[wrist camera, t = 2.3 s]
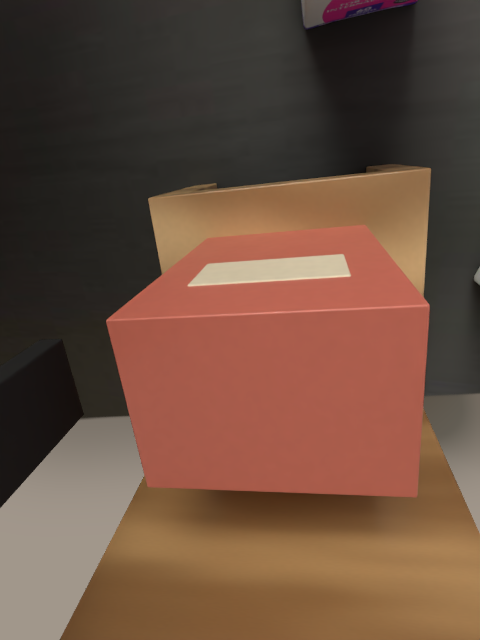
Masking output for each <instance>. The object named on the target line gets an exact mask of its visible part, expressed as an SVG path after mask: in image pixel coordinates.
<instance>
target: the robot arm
mask: <svg viewBox="0 0 480 640" xmlns="http://www.w3.org/2000/svg"><path fill="white" fill-rule="evenodd" d="M83 415H84V413H83V410H82V406H81V403H80V400H79V396H78V393H77V389H76V386H75V382H74V379H73V376H72V372H71V369H70V365H69V362H68V358H67V355H66V352H65V348H64V345H63V341H62V339H49V340H39V341H37V342H36V343H34V344H33V345H31V346H30V347H28V348H27V349H25V350H24V351H22V352H21V353H19V354H18V355H16V356H15V357H13V358H12V359H10V360H9V361H7V362H6V363H4V364H3V365H1V366H0V507H1V506H2V505H3V504H4V503H5V502H6V501H7V500H8V499H9V498H10V496H11V495H12V494H13V493H14V492H15V491H16V490H17V489H18V487H19V486H20V485H21V484H22V483H23V482H24V481H25V480H26V478H27V477H28V476H29V475H30V474H31V473H32V472H33V471H34V470H35V468H36V467H37V466H38V465H39V464H40V463H41V462H42V461H43V459H44V458H45V457H46V456H47V455H48V454H49V453H50V451H51V450H52V449H53V448H54V447H55V446H56V445H57V444H58V443H59V442H60V440H61V439H62V438H63V437H64V436H65V435H66V434H67V433H68V431H69V430H70V429H71V428H72V427H73V426H74V425H75V424H76V422H77V421H78V420H79V419H80V418H81V417H82V416H83Z"/></svg>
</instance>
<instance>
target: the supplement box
mask: <svg viewBox="0 0 480 640" xmlns="http://www.w3.org/2000/svg"><path fill="white" fill-rule="evenodd" d="M417 1H418V0H301V5H302V16H303V25H304V29H306V30H308V29H312V28H315V27H318V26H322V25H325V24H328V23H331V22H335V21H339V20H343V19H347V18H351V17H356V16H360V15H364V14H368V13H372V12H377V11H382V10H386V9H390V8H395V7H402V6H406V5H411V4H415V3H416V2H417Z"/></svg>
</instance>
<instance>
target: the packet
mask: <svg viewBox="0 0 480 640" xmlns="http://www.w3.org/2000/svg"><path fill="white" fill-rule="evenodd" d="M429 313H430V305H429V304H428V302H427V301H426V300H425V299H424V297H423V296H422V295H421V294H420V292H419V291H418V290H417V289H416V287H415V286H414V285H413V284H412V282H411V281H410V280H409V279H408V277H407V276H406V275H405V274H404V272H403V271H402V270H401V269H400V267H399V266H398V265H397V264H396V262H395V261H394V260H393V259H392V257H391V256H390V255H389V254H388V252H387V251H386V250H385V249H384V247H383V246H382V245H381V244H380V242H379V241H378V240H377V239H376V237H375V236H374V235H373V234H372V232H371V231H370V230H369V229H368V227H367V226H366V225H356V226H344V227H332V228H320V229H308V230H296V231H285V232H273V233H261V234H249V235H237V236H225V237H213V238H207V239H206V240H204V241H203V242H202V243H201V244H199V245H198V246H197V247H196V248H194V249H193V250H192V251H191V252H190V253H188V254H187V255H186V256H185V257H183V258H182V259H181V260H180V261H178V262H177V263H176V264H175V265H173V266H172V267H171V268H170V269H169V270H167V271H166V272H165V273H164V274H162V275H161V276H160V277H159V278H157V279H156V280H155V281H154V282H152V283H151V284H150V285H149V286H148V287H146V288H145V289H144V290H143V291H141V292H140V293H139V294H138V295H136V296H135V297H134V298H133V299H131V300H130V301H129V302H128V303H127V304H125V305H124V306H123V307H122V308H120V309H119V310H118V311H117V312H115V313H114V314H113V315H112V316H110V317H109V318H108V319H107V320H106V323H107V327H108V331H109V335H110V339H111V343H112V347H113V351H114V355H115V359H116V363H117V367H118V371H119V375H120V379H121V383H122V387H123V391H124V395H125V399H126V403H127V407H128V411H129V415H130V419H131V423H132V427H133V431H134V435H135V439H136V443H137V447H138V451H139V455H140V459H141V463H142V467H143V470H144V475H145V479H146V483H147V486H148V487H153V488H179V489H205V490H231V491H257V492H283V493H309V494H335V495H361V496H387V497H413V498H416V497H417V494H418V479H419V464H420V449H421V434H422V419H423V403H424V388H425V373H426V358H427V343H428V328H429Z"/></svg>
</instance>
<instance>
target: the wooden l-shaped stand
mask: <svg viewBox="0 0 480 640" xmlns="http://www.w3.org/2000/svg"><path fill="white" fill-rule="evenodd" d="M430 181H431V168H426V167H418V166H408V165H399V164H387V165H377V166H368V167H366V173H360V174H350V175H341V176H332V177H322V178H313V179H304V180H295V181H285V182H276V183H267V184H258V185H248V186H239V187H230V188H220V189H217V184H216V183H215V184H206V185H197V186H192V187H188V188H184V189H180V190H177V191H173V192H169V193H165V194H162V195H158V196H154V197H150V198H148V202H149V207H150V212H151V218H152V223H153V228H154V234H155V239H156V244H157V250H158V255H159V261H160V266H161V271H162V274H164V273H165V272H166V271H167V270H169V269H170V268H171V267H172V266H173V265H175V264H176V263H177V262H178V261H180V260H181V259H182V258H183V257H185V256H186V255H187V254H188V253H190V252H191V251H192V250H193V249H194V248H196V247H197V246H198V245H199V244H201V243H202V242H203V241H204V240H206V239H207V238H213V237H225V236H237V235H249V234H261V233H273V232H285V231H296V230H308V229H320V228H332V227H344V226H356V225H366V226H367V227H368V229H369V230H370V231H371V232H372V234H373V235H374V236H375V237H376V239H377V240H378V241H379V242H380V244H381V245H382V246H383V247H384V249H385V250H386V251H387V252H388V254H389V255H390V256H391V257H392V259H393V260H394V261H395V262H396V264H397V265H398V266H399V267H400V269H401V270H402V271H403V272H404V274H405V275H406V276H407V277H408V279H409V280H410V281H411V282H412V284H413V285H414V286H415V287H416V289H417V290H418V291H419V292H420V294H421V295H422V296H423V297H424V282H425V265H426V248H427V232H428V215H429V198H430ZM60 640H480V533H479V531H478V529H477V527H476V525H475V522H474V520H473V518H472V515H471V513H470V511H469V509H468V506H467V504H466V502H465V500H464V498H463V496H462V493H461V491H460V489H459V486H458V484H457V482H456V480H455V478H454V475H453V473H452V471H451V469H450V467H449V464H448V462H447V460H446V458H445V455H444V453H443V451H442V449H441V446H440V444H439V442H438V440H437V438H436V435H435V433H434V431H433V429H432V426H431V424H430V422H429V420H428V417H427V415H426V413H425V411H424V409H423V419H422V434H421V449H420V464H419V479H418V494H417V497H416V498H413V497H387V496H361V495H335V494H309V493H283V492H257V491H231V490H205V489H179V488H153V487H148V486H147V483H146V479H145V476H144V477H143V479H142V482H141V483H140V485H139V487H138V489H137V491H136V493H135V495H134V497H133V499H132V501H131V503H130V505H129V507H128V508H127V511H126V512H125V514H124V516H123V518H122V520H121V522H120V524H119V526H118V528H117V530H116V532H115V534H114V536H113V538H112V540H111V541H110V543H109V545H108V547H107V549H106V551H105V553H104V555H103V557H102V559H101V561H100V563H99V565H98V567H97V569H96V571H95V572H94V574H93V576H92V578H91V580H90V582H89V585H88V586H87V588H86V590H85V592H84V594H83V596H82V598H81V600H80V602H79V604H78V606H77V608H76V609H75V611H74V613H73V615H72V617H71V619H70V621H69V623H68V625H67V627H66V629H65V631H64V633H63V635H62V636H61V639H60Z"/></svg>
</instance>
